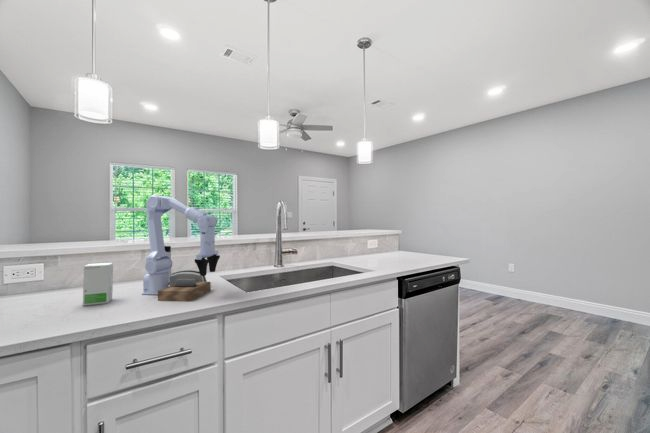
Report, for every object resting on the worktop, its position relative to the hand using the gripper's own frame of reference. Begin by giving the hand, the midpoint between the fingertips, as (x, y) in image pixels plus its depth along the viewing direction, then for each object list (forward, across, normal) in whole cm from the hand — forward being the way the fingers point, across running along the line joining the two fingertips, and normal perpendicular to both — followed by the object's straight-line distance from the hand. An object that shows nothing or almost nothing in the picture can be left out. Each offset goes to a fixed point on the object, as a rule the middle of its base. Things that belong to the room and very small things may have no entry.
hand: (207, 273), depth 117 cm
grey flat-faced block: (+10, 0, +10) cm, 14 cm away
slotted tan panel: (+9, 0, +10) cm, 14 cm away
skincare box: (+10, -12, +40) cm, 43 cm away
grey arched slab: (+10, +12, +17) cm, 23 cm away
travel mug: (+10, +17, +33) cm, 38 cm away
